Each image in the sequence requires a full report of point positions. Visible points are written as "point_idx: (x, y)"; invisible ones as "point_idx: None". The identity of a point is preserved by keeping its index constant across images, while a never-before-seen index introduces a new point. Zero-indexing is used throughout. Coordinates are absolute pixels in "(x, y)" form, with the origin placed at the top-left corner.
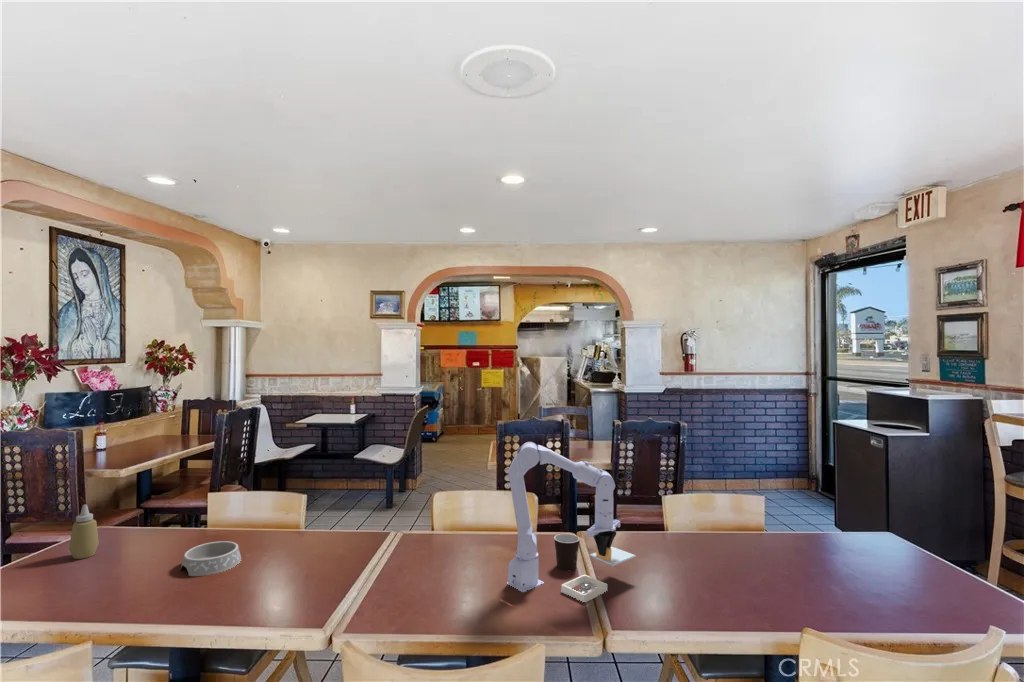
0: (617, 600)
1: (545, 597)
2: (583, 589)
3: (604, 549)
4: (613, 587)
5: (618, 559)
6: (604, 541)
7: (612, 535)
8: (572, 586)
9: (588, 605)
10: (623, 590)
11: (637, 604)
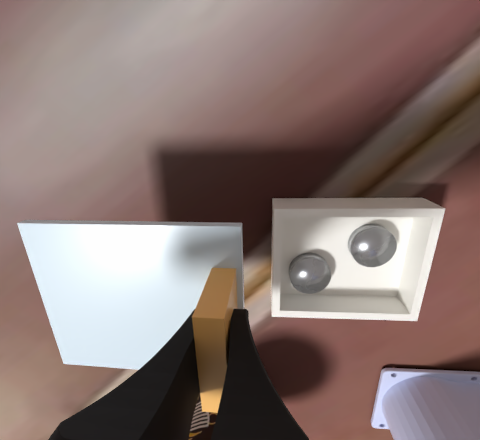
0: (297, 128)
1: (464, 314)
2: (356, 256)
3: (253, 341)
4: (218, 208)
5: (161, 248)
6: (285, 407)
7: (140, 436)
8: (350, 299)
9: (418, 180)
10: (206, 167)
11: (262, 42)
